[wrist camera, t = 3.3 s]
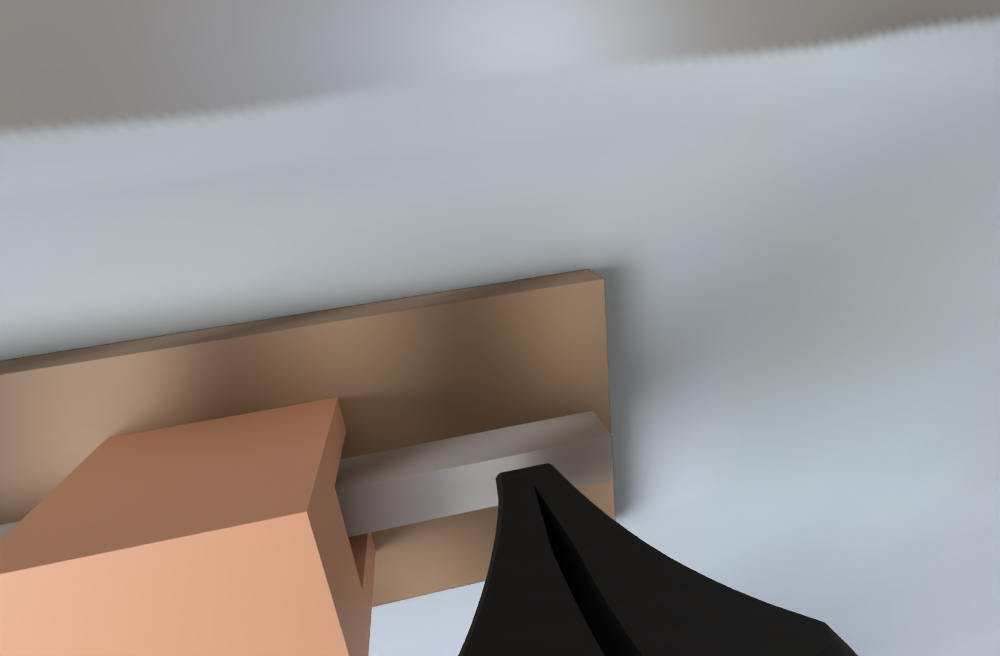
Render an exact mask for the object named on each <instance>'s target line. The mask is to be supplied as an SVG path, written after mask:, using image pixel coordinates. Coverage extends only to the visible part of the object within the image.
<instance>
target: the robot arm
mask: <svg viewBox="0 0 1000 656" xmlns="http://www.w3.org/2000/svg"><path fill="white" fill-rule="evenodd" d="M495 479H496V486H497V494H498V516H497V525H496V533H495V540H494V545H493V550H492V555H491V560H490V565H489V569H488V573H487V577H486V581H485V584H484V588H483V591H482V594H481V598H480V601H479V604H478V607H477V610H476V613H475V615H474V618H473V621H472V624H471V627H470V629H469V632H468V634H467V637H466V639H465V642H464V644H463V646H462V648H461V651H460V653H459V655H458V656H858V655H857V654H856V653H855V652H854V651H853V650H852V649H851V648H850V647H849V646H848V645H847V644H846V643H845V642H844V641H843V640H842V639H841V638H840V637H839V636H838V635H837V634H836V633H835V632H834V631H833V630H832V629H831V628H830V627H829V626H828V625H827V624H826V623H824V622H821V621H819V620H816V619H813V618H810V617H807V616H804V615H801V614H798V613H795V612H792V611H789V610H786V609H783V608H780V607H777V606H774V605H771V604H769V603H766V602H763V601H761V600H758V599H756V598H753V597H751V596H749V595H746V594H744V593H741V592H739V591H736V590H734V589H732V588H729V587H727V586H725V585H723V584H721V583H718V582H716V581H714V580H712V579H710V578H708V577H706V576H704V575H702V574H700V573H698V572H696V571H694V570H692V569H690V568H688V567H686V566H684V565H682V564H681V563H679V562H677V561H675V560H673V559H671V558H670V557H668V556H666V555H665V554H663V553H661V552H660V551H658V550H657V549H655V548H653V547H652V546H650V545H648V544H647V543H645V542H644V541H642V540H641V539H639V538H638V537H637V536H635V535H634V534H632V533H631V532H630V531H628V530H627V529H625V528H624V527H623V526H621V525H620V524H619V523H617V522H616V521H615V520H613V519H612V518H611V517H610V516H608V515H607V514H606V513H605V512H603V511H602V510H601V509H600V508H599V507H597V506H596V505H595V504H594V503H593V502H591V501H590V500H589V499H588V498H587V497H586V496H584V495H583V494H582V493H581V492H580V491H579V490H578V489H577V488H576V487H575V486H573V485H572V484H571V483H570V482H569V481H568V480H567V479H566V478H565V477H564V476H563V475H562V474H561V473H560V472H559V471H558V470H557V469H556V468H555V467H554V466H553V465H551V464H550V463H546V464H541V465H536V466H531V467H526V468H521V469H516V470H511V471H506V472H501V473H499V474H498V475H497V477H496V478H495Z"/></svg>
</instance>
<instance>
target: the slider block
mask: <svg viewBox="0 0 1000 656" xmlns="http://www.w3.org/2000/svg"><path fill="white" fill-rule="evenodd" d="M345 434H346V429H345V425H344V421H343V417H342V413H341V408H340V404H339V400H338V397H337V398H332V399H326V400H320V401H315V402H309V403H303V404H298V405H292V406H287V407H281V408H275V409H270V410H264V411H258V412H253V413H247V414H242V415H236V416H230V417H225V418H219V419H213V420H208V421H202V422H197V423H191V424H185V425H180V426H174V427H168V428H163V429H157V430H152V431H146V432H140V433H135V434H129V435H123V436H118V437H112V438H107V439H106V440H105V441H104V442H102V443H101V444H100V445H99V446H98V447H97V448H96V449H95V450H94V451H93V452H92V453H91V454H90V455H89V456H88V457H87V458H86V459H85V460H84V461H83V462H82V463H81V464H79V465H78V466H77V467H76V468H75V469H74V470H73V471H72V472H71V473H70V474H69V475H68V476H67V477H66V478H65V479H64V480H63V481H62V482H61V483H60V484H59V485H58V486H56V487H55V488H54V489H53V490H52V491H51V492H50V493H49V494H48V495H47V496H46V497H45V498H44V499H43V500H42V501H41V502H40V503H39V504H38V505H37V506H36V507H35V508H34V509H32V510H31V511H30V512H29V513H28V514H27V515H26V516H25V517H24V518H23V519H22V520H21V521H20V522H19V523H18V524H17V525H16V526H15V527H14V528H13V529H12V530H11V531H9V532H8V533H7V534H6V535H5V536H4V537H3V538H2V539H1V540H0V656H368V652H369V638H370V624H371V610H372V596H373V582H374V568H375V554H376V550H375V546H374V542H373V538H372V534H371V532H370V533H366V534H361V535H356V536H352V537H348V535H347V531H346V527H345V524H344V520H343V516H342V512H341V509H340V505H339V501H338V497H337V494H336V490H335V482H336V477H337V472H338V468H339V463H340V458H341V453H342V449H343V444H344V439H345Z"/></svg>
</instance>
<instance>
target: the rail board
mask: <svg viewBox="0 0 1000 656" xmlns="http://www.w3.org/2000/svg"><path fill="white" fill-rule="evenodd" d="M337 397H338V400H339V404H340V408H341V413H342V417H343V421H344V425H345V429H346V434H345V439H344V444H343V449H342V453H341V458H340V463H339V468H338V472H337V477H336V482H335V490H336V494H337V497H338V501H339V505H340V509H341V512H342V516H343V520H344V524H345V527H346V531H347V535H348V537H352V536H356V535H361V534H366V533H370V532H371V534H372V538H373V542H374V546H375V550H376V554H375V568H374V582H373V596H372V607H374V606H379V605H383V604H387V603H392V602H396V601H400V600H405V599H409V598H413V597H418V596H422V595H426V594H431V593H435V592H439V591H444V590H448V589H452V588H457V587H461V586H465V585H470V584H474V583H478V582H483V581H486V577H487V573H488V569H489V565H490V560H491V555H492V550H493V545H494V540H495V533H496V525H497V516H498V494H497V486H496V479H495V478H496V477H497V475H498V474H499V473H501V472H506V471H511V470H516V469H521V468H526V467H531V466H536V465H541V464H546V463H550V464H551V465H553V466H554V467H555V468H556V469H557V470H558V471H559V472H560V473H561V474H562V475H563V476H564V477H565V478H566V479H567V480H568V481H569V482H570V483H571V484H572V485H573V486H575V487H576V488H577V489H578V490H579V491H580V492H581V493H582V494H583V495H584V496H586V497H587V498H588V499H589V500H590V501H591V502H593V503H594V504H595V505H596V506H597V507H599V508H600V509H601V510H602V511H603V512H605V513H606V514H607V515H608V516H610V517H611V518H612V519H613V520H615V508H614V486H613V481H614V473H613V451H612V435H611V420H610V398H609V376H608V354H607V332H606V310H605V288H604V278H602V277H600V276H599V275H597V274H596V273H594V272H592V271H591V270H589V269H587V270H581V271H574V272H568V273H561V274H555V275H549V276H542V277H536V278H529V279H523V280H516V281H510V282H504V283H497V284H491V285H484V286H478V287H472V288H465V289H459V290H452V291H446V292H440V293H433V294H427V295H420V296H414V297H408V298H401V299H395V300H388V301H382V302H376V303H369V304H363V305H356V306H350V307H344V308H337V309H331V310H324V311H318V312H312V313H305V314H299V315H292V316H286V317H279V318H273V319H267V320H260V321H254V322H247V323H241V324H235V325H228V326H222V327H215V328H209V329H203V330H196V331H190V332H183V333H177V334H171V335H164V336H158V337H151V338H145V339H139V340H132V341H126V342H119V343H113V344H107V345H100V346H94V347H87V348H81V349H75V350H68V351H62V352H55V353H49V354H43V355H36V356H30V357H23V358H17V359H10V360H4V361H0V540H1V539H2V538H3V537H4V536H5V535H6V534H7V533H8V532H9V531H11V530H12V529H13V528H14V527H15V526H16V525H17V524H18V523H19V522H20V521H21V520H22V519H23V518H24V517H25V516H26V515H27V514H28V513H29V512H30V511H31V510H32V509H34V508H35V507H36V506H37V505H38V504H39V503H40V502H41V501H42V500H43V499H44V498H45V497H46V496H47V495H48V494H49V493H50V492H51V491H52V490H53V489H54V488H55V487H56V486H58V485H59V484H60V483H61V482H62V481H63V480H64V479H65V478H66V477H67V476H68V475H69V474H70V473H71V472H72V471H73V470H74V469H75V468H76V467H77V466H78V465H79V464H81V463H82V462H83V461H84V460H85V459H86V458H87V457H88V456H89V455H90V454H91V453H92V452H93V451H94V450H95V449H96V448H97V447H98V446H99V445H100V444H101V443H102V442H104V441H105V440H106V439H107V438H112V437H118V436H123V435H129V434H135V433H140V432H146V431H152V430H157V429H163V428H168V427H174V426H180V425H185V424H191V423H197V422H202V421H208V420H213V419H219V418H225V417H230V416H236V415H242V414H247V413H253V412H258V411H264V410H270V409H275V408H281V407H287V406H292V405H298V404H303V403H309V402H315V401H320V400H326V399H332V398H337Z"/></svg>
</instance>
